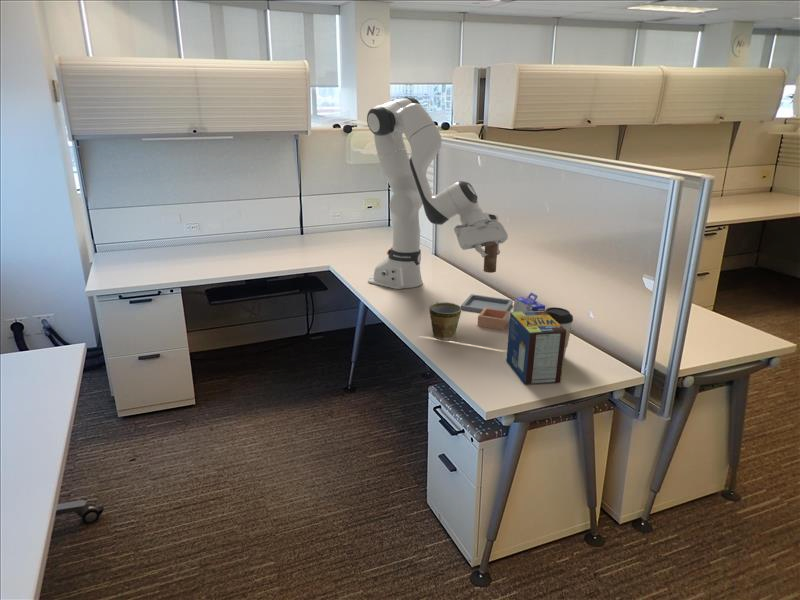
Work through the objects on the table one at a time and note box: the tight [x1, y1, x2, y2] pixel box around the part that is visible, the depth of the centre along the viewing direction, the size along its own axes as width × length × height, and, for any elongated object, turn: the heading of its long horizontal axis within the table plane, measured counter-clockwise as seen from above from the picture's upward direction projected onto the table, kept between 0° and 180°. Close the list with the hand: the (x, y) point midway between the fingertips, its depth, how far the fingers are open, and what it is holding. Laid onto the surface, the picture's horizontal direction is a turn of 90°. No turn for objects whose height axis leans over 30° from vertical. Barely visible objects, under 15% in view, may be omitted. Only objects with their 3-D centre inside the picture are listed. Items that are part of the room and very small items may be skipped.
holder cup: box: [477, 308, 511, 331], centre depth 193 cm, size 9×9×4 cm
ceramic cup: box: [429, 302, 462, 342], centre depth 182 cm, size 13×10×10 cm
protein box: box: [505, 310, 567, 386], centre depth 158 cm, size 10×15×16 cm
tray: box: [460, 293, 514, 314], centre depth 208 cm, size 16×14×2 cm
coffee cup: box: [545, 306, 574, 361], centre depth 167 cm, size 9×9×15 cm
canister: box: [482, 242, 498, 274], centre depth 202 cm, size 4×4×10 cm
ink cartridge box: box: [512, 292, 546, 312], centre depth 181 cm, size 10×6×14 cm, turn 24°
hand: (491, 255), depth 201 cm, fingers closed on canister, 4 cm apart
